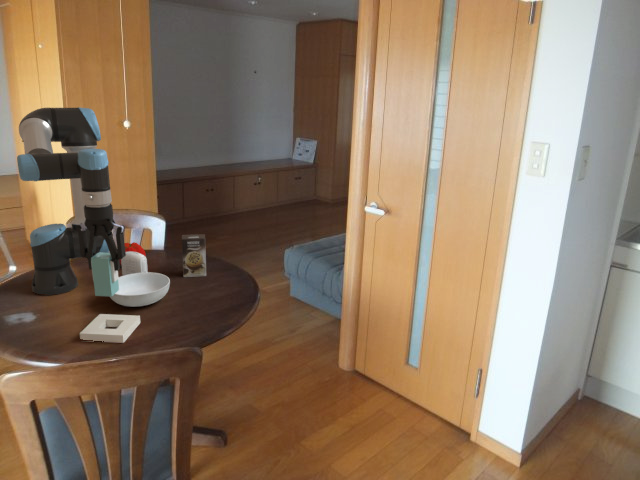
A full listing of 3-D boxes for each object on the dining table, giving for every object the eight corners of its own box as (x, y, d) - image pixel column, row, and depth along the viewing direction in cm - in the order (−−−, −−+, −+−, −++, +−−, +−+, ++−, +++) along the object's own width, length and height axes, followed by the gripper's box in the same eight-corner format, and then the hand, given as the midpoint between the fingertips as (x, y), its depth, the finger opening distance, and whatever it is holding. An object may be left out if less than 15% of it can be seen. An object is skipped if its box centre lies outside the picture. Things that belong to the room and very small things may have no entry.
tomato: (118, 261, 211) (116, 241, 208) (147, 260, 214) (146, 240, 211) (114, 270, 201) (112, 249, 198) (145, 268, 204) (143, 248, 201)
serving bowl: (126, 287, 185) (124, 270, 183) (179, 291, 184) (178, 274, 181) (96, 311, 166) (94, 292, 164) (156, 315, 164) (154, 297, 162)
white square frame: (80, 340, 147) (79, 333, 146) (100, 320, 159) (99, 313, 158) (123, 342, 146) (122, 335, 145) (140, 322, 159) (139, 315, 158)
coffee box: (183, 277, 196) (181, 239, 191) (183, 271, 202) (181, 234, 197) (206, 276, 198) (205, 238, 193) (206, 270, 204) (204, 233, 199)
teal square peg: (95, 295, 147) (90, 257, 143) (103, 289, 151) (98, 252, 148) (111, 296, 146) (107, 258, 143) (119, 289, 151) (115, 253, 148)
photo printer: (150, 282, 190) (148, 252, 186) (142, 286, 186) (140, 255, 183) (128, 278, 194) (126, 248, 190) (121, 282, 190) (118, 251, 186)
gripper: (59, 206, 137) (69, 283, 144) (123, 208, 137) (130, 286, 144) (73, 199, 144) (82, 273, 151) (134, 202, 144) (140, 276, 151)
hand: (105, 279), depth 148 cm, fingers closed on teal square peg, 5 cm apart
